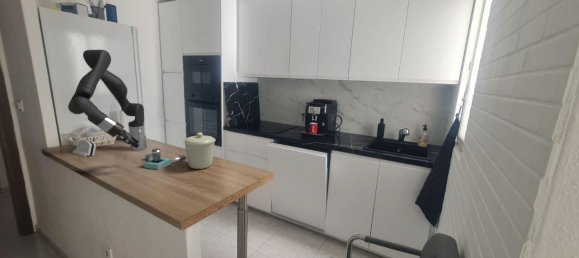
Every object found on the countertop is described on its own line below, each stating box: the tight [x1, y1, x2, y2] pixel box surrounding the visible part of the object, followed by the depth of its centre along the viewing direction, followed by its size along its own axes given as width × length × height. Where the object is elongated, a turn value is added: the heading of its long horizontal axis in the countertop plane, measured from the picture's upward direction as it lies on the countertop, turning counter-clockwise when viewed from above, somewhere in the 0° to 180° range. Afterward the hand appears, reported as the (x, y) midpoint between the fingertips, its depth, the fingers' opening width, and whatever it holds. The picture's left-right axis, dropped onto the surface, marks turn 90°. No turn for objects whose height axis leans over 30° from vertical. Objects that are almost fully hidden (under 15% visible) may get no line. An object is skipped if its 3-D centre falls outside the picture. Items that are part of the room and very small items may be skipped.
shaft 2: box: [169, 154, 188, 164], centre depth 150 cm, size 12×4×3 cm, turn 137°
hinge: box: [72, 139, 97, 158], centre depth 157 cm, size 17×5×10 cm, turn 62°
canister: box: [183, 132, 216, 170], centre depth 143 cm, size 18×18×21 cm
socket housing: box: [143, 157, 172, 171], centre depth 143 cm, size 10×10×3 cm
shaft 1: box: [144, 153, 152, 161], centre depth 150 cm, size 12×4×3 cm, turn 47°
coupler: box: [151, 148, 162, 163], centre depth 142 cm, size 5×5×10 cm
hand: (138, 144), depth 135 cm, fingers open, 8 cm apart
